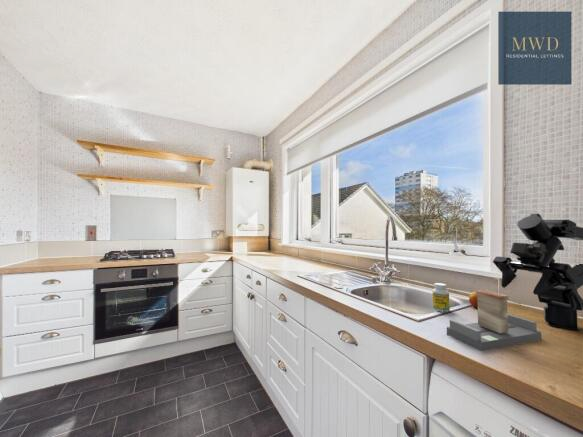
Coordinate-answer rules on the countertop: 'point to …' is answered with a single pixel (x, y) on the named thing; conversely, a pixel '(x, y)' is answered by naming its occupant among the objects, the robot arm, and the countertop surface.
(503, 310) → the wooden rectangular block
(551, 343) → the countertop surface
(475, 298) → the fruit
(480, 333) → the grooved grey tray
